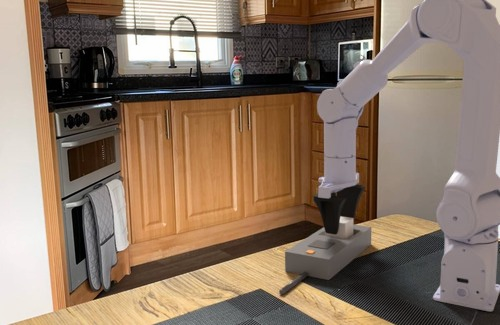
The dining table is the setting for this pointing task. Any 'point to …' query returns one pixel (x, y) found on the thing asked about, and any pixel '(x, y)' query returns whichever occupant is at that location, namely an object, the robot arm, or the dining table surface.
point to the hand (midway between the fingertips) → (339, 227)
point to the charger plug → (344, 228)
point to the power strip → (324, 254)
